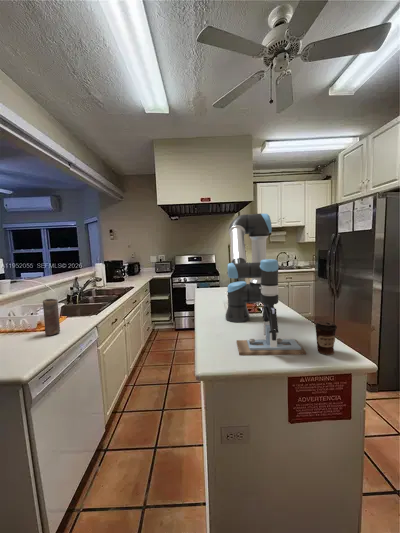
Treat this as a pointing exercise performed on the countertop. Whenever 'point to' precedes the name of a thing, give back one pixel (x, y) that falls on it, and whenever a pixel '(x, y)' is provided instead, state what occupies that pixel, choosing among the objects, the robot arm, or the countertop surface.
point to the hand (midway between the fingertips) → (269, 340)
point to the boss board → (245, 350)
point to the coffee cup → (325, 336)
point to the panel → (266, 343)
